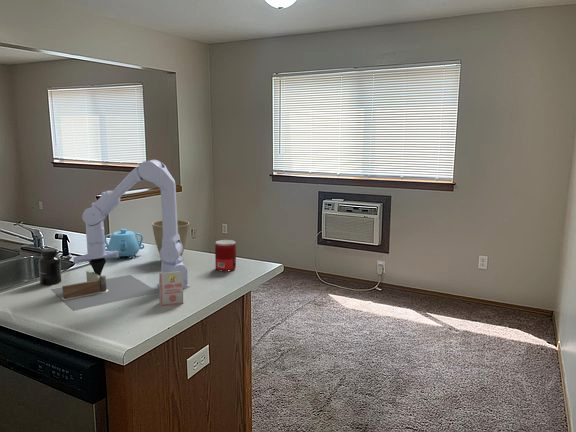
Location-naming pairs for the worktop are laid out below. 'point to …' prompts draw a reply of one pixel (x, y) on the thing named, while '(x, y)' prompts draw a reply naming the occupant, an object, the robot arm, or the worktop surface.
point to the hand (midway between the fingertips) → (98, 280)
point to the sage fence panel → (92, 276)
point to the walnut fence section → (84, 288)
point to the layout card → (109, 293)
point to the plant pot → (182, 231)
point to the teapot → (124, 243)
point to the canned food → (225, 255)
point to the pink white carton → (171, 288)
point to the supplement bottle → (49, 267)
